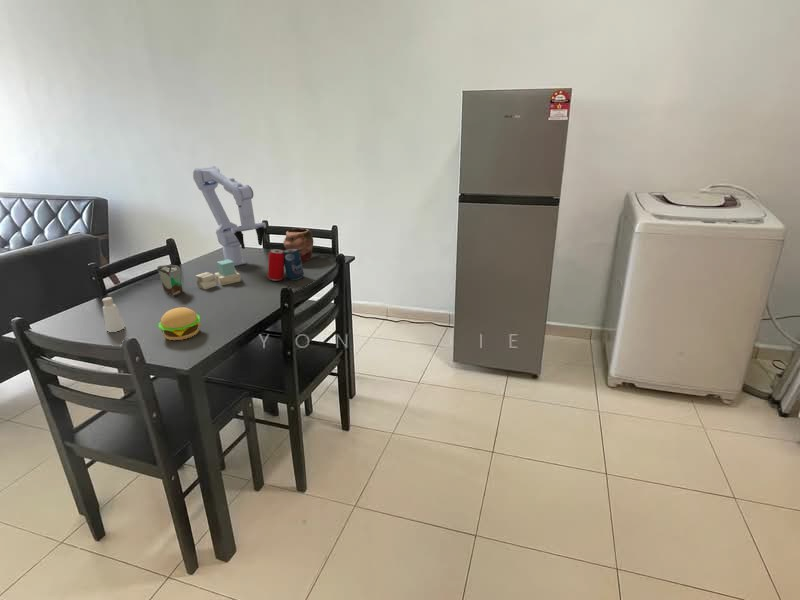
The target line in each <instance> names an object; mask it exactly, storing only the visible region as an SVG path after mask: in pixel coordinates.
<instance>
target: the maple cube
mask: <svg viewBox="0 0 800 600" xmlns="http://www.w3.org/2000/svg"><path fill="white" fill-rule="evenodd" d="M195 278H196V283H197V288H199V289H202V290H208V289H210V288H213V287H216V286H217V283H216V282H217V281H216V278H215V273H214V274H213V273H212V272H209V271H205V272H202V273H200V274H195Z"/></svg>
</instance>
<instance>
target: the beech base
mask: <svg viewBox="0 0 800 600" xmlns="http://www.w3.org/2000/svg"><path fill="white" fill-rule="evenodd" d="M214 277H215V282H217V283H218V284H219V285H220V286H224V285H229V284H234V283H240V282H241V281H242V280H241V274H240V273H239V272H238V271H237V270H236V269H235V274H231V275H227V276H222V275H221V274H219V272H218V271H217V272H214Z"/></svg>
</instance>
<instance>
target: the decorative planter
mask: <svg viewBox="0 0 800 600" xmlns="http://www.w3.org/2000/svg"><path fill="white" fill-rule="evenodd" d="M282 243H283V246H284V248H285V249H289V248H297V249H298V251H299V252H300V257H301V262H302V263H303V262H307V261H310V260H311V259H312V255H313V248H314V247H313V246H314V237H313V233H312V231H311V230H309V229H308V228H291V229H288V230H287V231H286V232H285V238H284V240H283V241H282Z"/></svg>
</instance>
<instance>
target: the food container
mask: <svg viewBox="0 0 800 600" xmlns="http://www.w3.org/2000/svg"><path fill="white" fill-rule="evenodd" d="M157 272H158V275H159V278H160V282H161V285H162V286H161V287H162V288H163V292H165V293H166V292H167V293H166V294H168V293H169V294H168V295H170V296H171V295H172V296H171V297H173V298H175V297H177V296H180V295H182V293H183V292H184V291H183V284H182V278H181V277H182V276H181V275H182V273H183V272H182V269H181V268H180V266H178V265H175V264H164V265H158V266H157Z"/></svg>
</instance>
